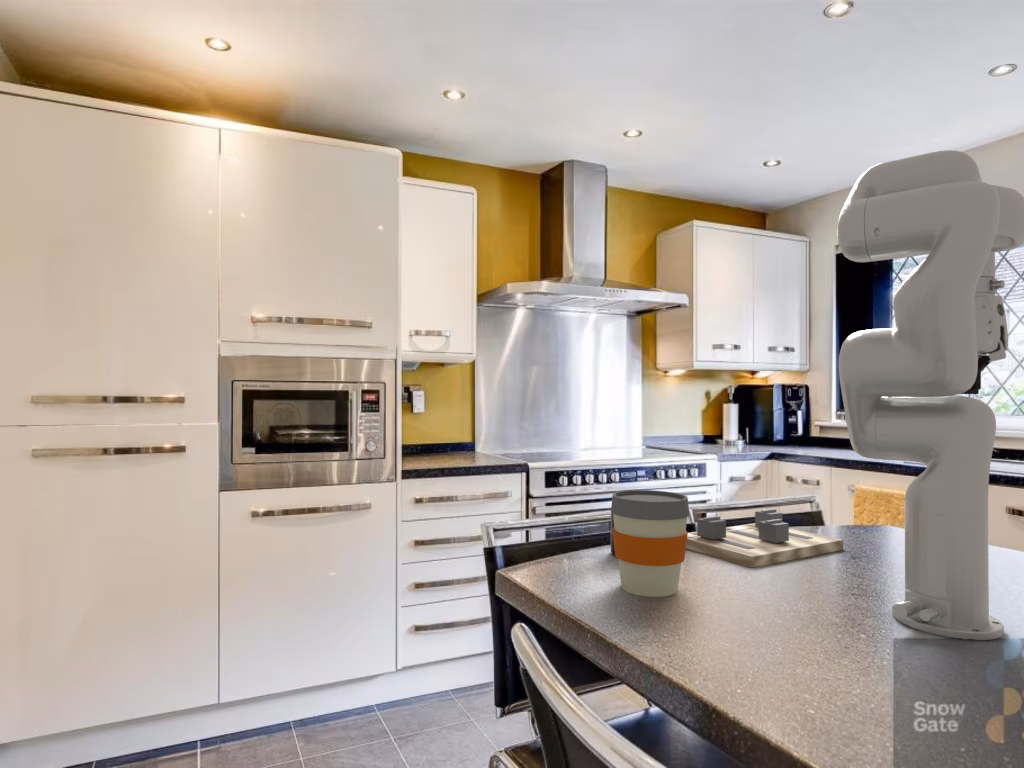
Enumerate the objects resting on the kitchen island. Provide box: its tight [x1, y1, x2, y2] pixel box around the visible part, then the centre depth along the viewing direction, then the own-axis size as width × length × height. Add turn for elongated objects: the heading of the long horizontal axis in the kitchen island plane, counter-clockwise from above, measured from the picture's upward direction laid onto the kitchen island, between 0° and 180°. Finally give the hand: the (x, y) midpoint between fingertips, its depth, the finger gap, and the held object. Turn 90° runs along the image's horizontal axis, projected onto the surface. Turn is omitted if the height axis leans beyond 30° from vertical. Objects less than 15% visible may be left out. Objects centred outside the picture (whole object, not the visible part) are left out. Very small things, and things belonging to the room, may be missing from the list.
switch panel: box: [686, 522, 844, 569], centre depth 129 cm, size 28×20×2 cm
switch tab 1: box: [696, 515, 727, 540], centre depth 128 cm, size 4×4×4 cm
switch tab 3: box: [759, 519, 790, 543], centre depth 126 cm, size 4×4×4 cm
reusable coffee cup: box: [610, 489, 690, 598], centre depth 101 cm, size 12×13×15 cm
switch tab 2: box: [754, 508, 784, 528], centre depth 137 cm, size 4×4×4 cm
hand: (969, 393), depth 110 cm, fingers closed
